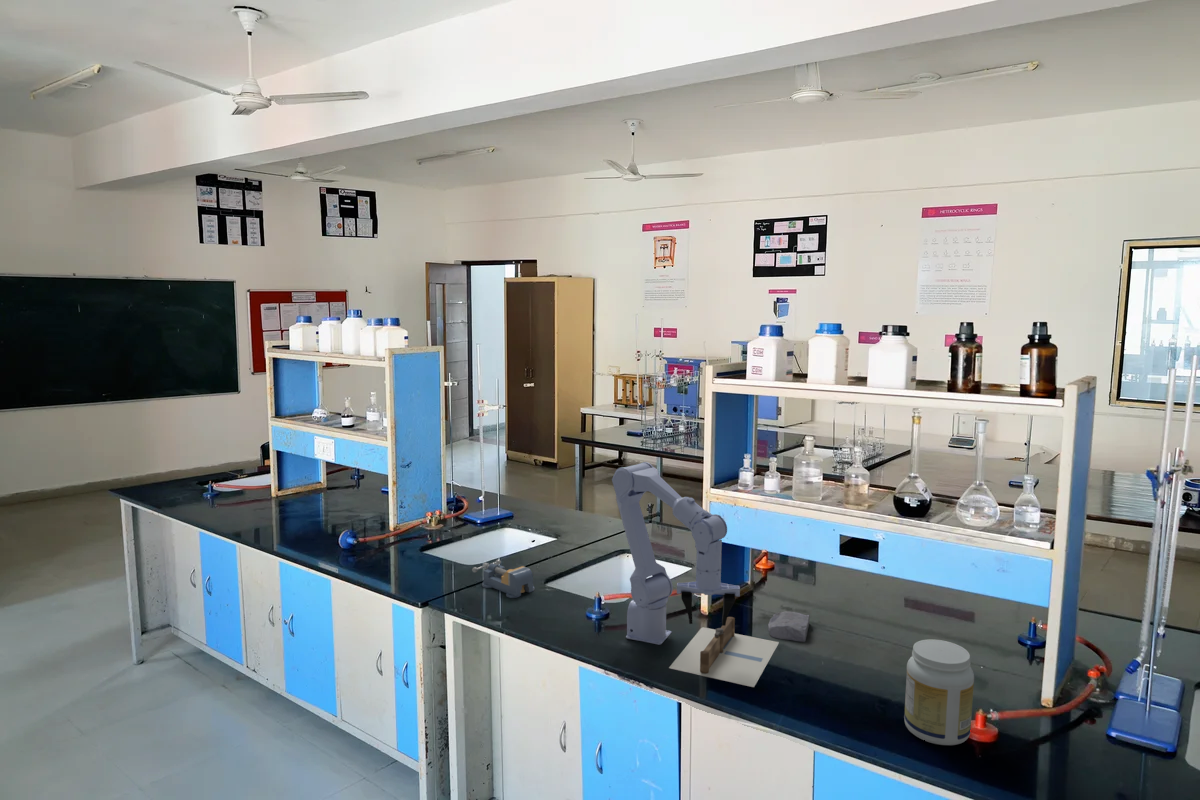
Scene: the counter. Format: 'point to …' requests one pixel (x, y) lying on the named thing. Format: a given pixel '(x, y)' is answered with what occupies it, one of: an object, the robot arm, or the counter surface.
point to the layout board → (728, 658)
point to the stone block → (789, 626)
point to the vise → (507, 579)
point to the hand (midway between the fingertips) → (707, 622)
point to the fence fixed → (727, 632)
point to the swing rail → (710, 652)
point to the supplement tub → (939, 692)
